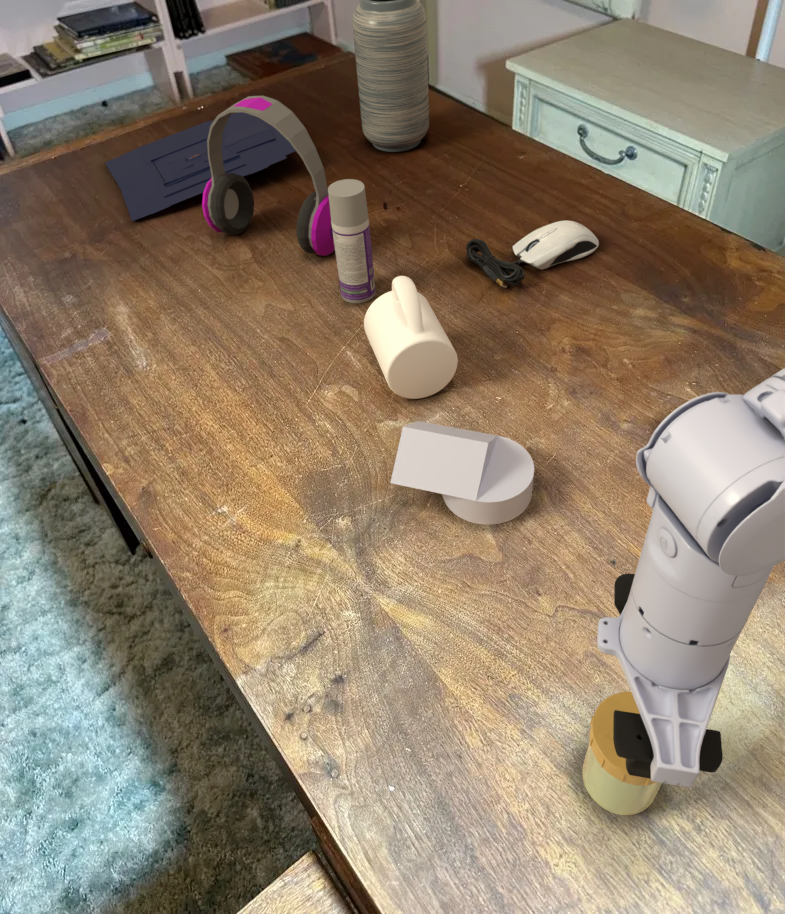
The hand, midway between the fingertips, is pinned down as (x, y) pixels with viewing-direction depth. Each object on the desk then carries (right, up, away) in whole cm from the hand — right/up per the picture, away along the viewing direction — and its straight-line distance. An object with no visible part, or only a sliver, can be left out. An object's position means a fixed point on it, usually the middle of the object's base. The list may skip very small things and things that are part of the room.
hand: (643, 715), depth 49 cm
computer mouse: (+4, +44, +56) cm, 72 cm away
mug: (-14, +27, +41) cm, 51 cm away
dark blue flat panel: (-48, +66, +82) cm, 115 cm away
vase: (-15, +72, +85) cm, 112 cm away
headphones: (-33, +49, +64) cm, 87 cm away
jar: (+1, -7, +8) cm, 10 cm away
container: (-21, +38, +53) cm, 69 cm away
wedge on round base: (-9, +14, +28) cm, 33 cm away
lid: (0, -2, +2) cm, 3 cm away
